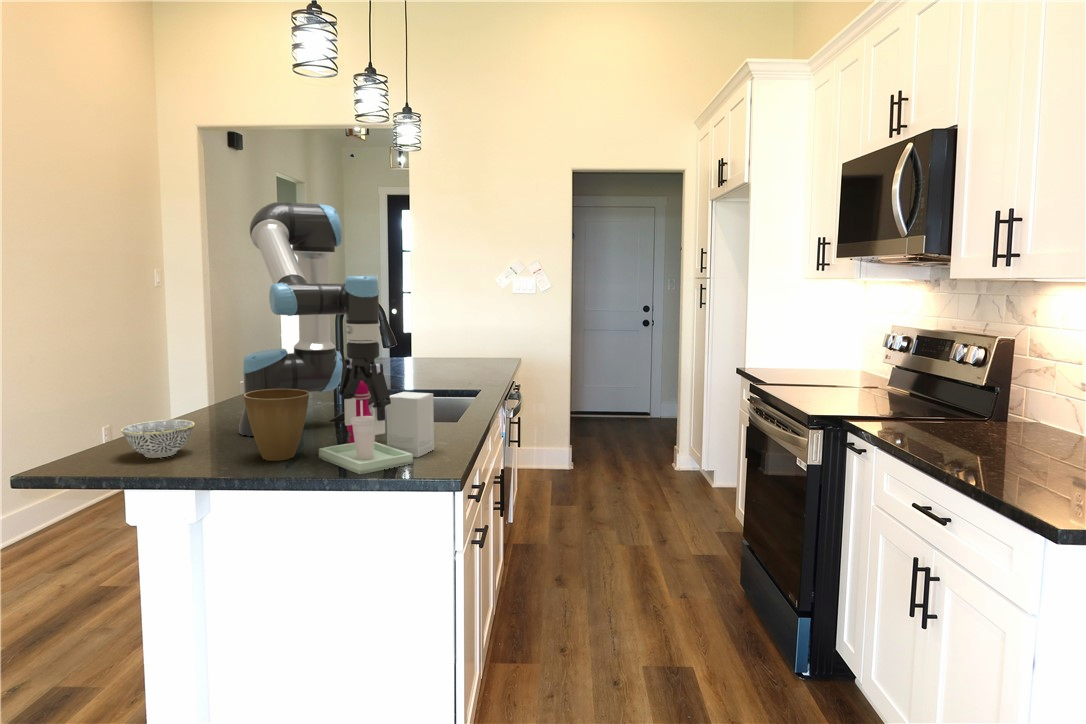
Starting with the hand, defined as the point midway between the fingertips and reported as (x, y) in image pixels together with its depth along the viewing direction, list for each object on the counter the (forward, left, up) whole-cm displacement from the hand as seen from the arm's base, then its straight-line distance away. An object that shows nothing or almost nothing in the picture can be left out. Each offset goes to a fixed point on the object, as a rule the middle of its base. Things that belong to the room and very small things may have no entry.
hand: (364, 429), depth 173 cm
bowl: (-38, -35, -8) cm, 52 cm away
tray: (0, 0, -8) cm, 8 cm away
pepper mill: (-18, +9, -8) cm, 22 cm away
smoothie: (0, 0, -7) cm, 7 cm away
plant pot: (-17, -14, -8) cm, 23 cm away
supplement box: (0, +13, -8) cm, 15 cm away
